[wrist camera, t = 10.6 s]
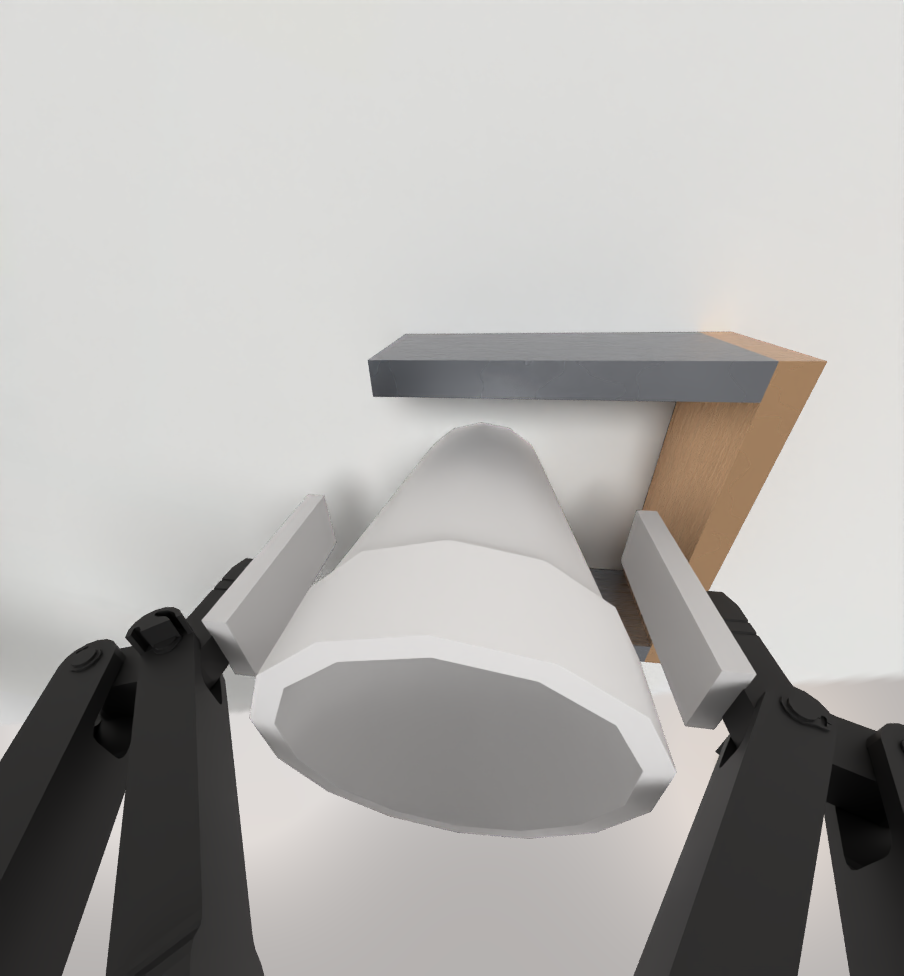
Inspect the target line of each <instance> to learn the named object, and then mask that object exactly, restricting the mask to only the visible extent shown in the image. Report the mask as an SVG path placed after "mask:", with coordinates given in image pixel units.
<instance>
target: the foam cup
mask: <svg viewBox="0 0 904 976" xmlns="http://www.w3.org/2000/svg"><path fill="white" fill-rule="evenodd" d="M249 718H250V720H251V721H252V723H253V724H254V725H255V727H256V728H257V730H258V731H259V732H260V734H261V735H262V737H263V738H264V739H265V741H266V742H267V744H268V745H269V746H270V748H271V749H272V750H273V752H274V753H275V755H276V756H277V757H278V758H279V759H280V760H282V761H283V762H285V763H286V764H288V765H289V766H291V767H292V768H294V769H295V770H297V771H298V772H300V773H301V774H303V775H304V776H306V777H307V778H309V779H310V780H312V781H313V782H315V783H316V784H318V785H319V786H321V787H322V788H324V789H325V790H327V791H328V792H331V793H333V794H336V795H338V796H341V797H343V798H345V799H348V800H350V801H353V802H355V803H358V804H360V805H363V806H365V807H368V808H370V809H373V810H375V811H378V812H380V813H382V814H385V815H387V816H390V817H394V818H399V819H402V820H407V821H411V822H415V823H419V824H424V825H428V826H432V827H436V828H441V829H445V830H449V831H453V832H457V833H468V834H480V835H490V836H502V837H514V838H526V839H532V838H543V837H554V836H566V835H576V834H589V833H597V832H599V831H602V830H605V829H607V828H610V827H612V826H615V825H617V824H620V823H623V822H625V821H628V820H631V819H633V818H636V817H638V816H641V815H644V814H646V813H649V812H651V811H652V810H653V808H654V806H655V805H656V803H657V802H658V800H659V799H660V797H661V796H662V794H663V793H664V791H665V790H666V788H667V786H668V785H669V783H670V782H671V780H672V779H673V777H674V776H675V774H676V773H677V772H676V769H675V766H674V763H673V759H672V757H671V753H670V750H669V747H668V744H667V741H666V738H665V735H664V733H663V729H662V726H661V723H660V720H659V717H658V714H657V711H656V708H655V705H654V702H653V699H652V696H651V693H650V690H649V687H648V684H647V681H646V678H645V675H644V672H643V668H642V665H641V662H640V660H639V658H638V655H637V653H636V651H635V649H634V647H633V644H632V642H631V640H630V638H629V636H628V634H627V631H626V629H625V627H624V625H623V623H622V621H621V618H620V616H619V614H618V612H617V610H616V608H615V607H614V606H613V605H611V604H610V603H608V602H607V601H605V600H604V599H603V598H602V596H601V593H600V591H599V589H598V587H597V585H596V583H595V580H594V578H593V576H592V574H591V572H590V569H589V567H588V565H587V563H586V561H585V558H584V556H583V554H582V552H581V550H580V548H579V545H578V543H577V541H576V539H575V537H574V534H573V532H572V530H571V528H570V526H569V524H568V521H567V519H566V517H565V515H564V513H563V510H562V508H561V506H560V504H559V502H558V500H557V497H556V495H555V493H554V491H553V489H552V486H551V484H550V482H549V480H548V478H547V476H546V473H545V471H544V469H543V467H542V465H541V463H540V461H539V459H538V456H537V454H536V452H535V450H534V449H533V446H532V445H531V444H530V443H529V442H527V441H526V440H525V439H523V438H522V437H521V436H519V435H518V434H517V433H515V432H514V431H513V430H511V429H510V428H506V427H501V426H496V425H492V424H487V423H482V422H481V423H477V424H472V425H467V426H463V427H458V428H454V429H453V430H452V431H450V432H449V433H448V434H446V435H445V436H444V437H443V438H441V439H440V440H439V441H438V442H436V443H435V444H434V445H433V447H432V448H430V450H429V451H428V452H427V453H426V455H425V456H424V457H423V458H422V460H421V461H420V462H419V463H418V465H417V466H416V467H415V468H414V470H413V471H412V472H411V473H410V475H409V476H408V477H407V478H406V480H405V481H404V482H403V484H402V485H401V486H400V487H399V489H398V490H397V491H396V492H395V494H394V495H393V496H392V497H391V499H390V500H389V501H388V502H387V504H386V505H385V506H384V507H383V509H382V510H381V511H380V512H379V514H378V515H377V516H376V517H375V519H374V520H373V521H372V523H371V524H370V525H369V526H368V528H367V529H366V530H365V531H364V533H363V534H362V535H361V536H360V538H359V539H358V540H357V541H356V543H355V544H354V545H353V546H352V548H351V549H350V550H349V551H348V553H347V554H346V555H345V557H344V558H343V559H342V560H341V562H340V563H339V564H338V565H337V567H336V568H335V569H334V570H333V572H331V573H330V574H329V575H327V576H326V577H324V578H323V579H321V580H320V581H318V582H317V583H316V584H314V585H313V586H311V587H310V589H309V590H308V592H307V594H306V595H305V597H304V598H303V600H302V602H301V603H300V605H299V607H298V608H297V610H296V612H295V613H294V615H293V616H292V618H291V620H290V621H289V623H288V625H287V626H286V628H285V630H284V631H283V633H282V634H281V636H280V638H279V639H278V641H277V643H276V644H275V646H274V647H273V649H272V651H271V652H270V654H269V656H268V657H267V659H266V661H265V662H264V664H263V665H262V667H261V669H260V670H259V672H258V674H257V675H256V680H255V686H254V692H253V698H252V704H251V710H250V716H249Z"/></svg>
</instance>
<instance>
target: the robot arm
mask: <svg viewBox="0 0 904 976" xmlns="http://www.w3.org/2000/svg"><path fill="white" fill-rule="evenodd" d="M336 543H337V541H336V537H335V534H334V530H333V526H332V522H331V518H330V515H329V511H328V507H327V503H326V500H325V496H324V495H313V494H308V495H307V496H306V497H305V498H304V500H303V501H302V502H301V503H300V504H299V506H298V507H297V508H296V509H295V510H294V511H293V513H292V514H291V515H290V516H289V517H288V519H287V520H286V521H285V522H284V523H283V524H282V526H281V527H280V528H279V529H278V530H277V532H276V533H275V534H274V535H273V536H272V538H271V539H270V540H269V541H268V542H267V543H266V545H265V546H264V547H263V548H262V549H261V551H260V552H259V553H258V554H257V555H256V556H255V558H254V559H248V558H245V559H244V560H243V561H241V562H240V563H238V564H237V565H235V566H234V567H232V568H231V570H230V571H229V572H228V573H227V574H226V575H225V576H224V577H223V578H222V581H220V582H219V583H218V584H217V585H216V586H215V587H214V590H212V591H211V592H210V593H209V594H208V595H207V596H206V598H205V599H204V600H203V601H202V602H201V603H200V604H199V605H198V607H197V608H196V609H195V610H194V611H193V612H192V613H191V614H190V616H189V617H188V618H187V619H185V618H184V616H183V615H182V613H181V612H180V610H179V609H176V608H174V607H165V608H161V609H158V610H155V611H153V612H151V613H148V614H146V615H145V616H143V617H142V618H141V619H139V620H138V621H136V622H135V623H134V624H133V626H132V627H131V628H130V629H129V630H128V632H127V635H126V637H125V638H126V639H127V640H128V641H129V642H130V644H131V645H132V646H131V647H126V648H121V649H120V648H119V647H118V646H117V645H116V644H115V642H114V641H112V640H108V639H104V640H97V641H94V642H92V643H89V644H86V645H85V646H83V647H81V648H79V649H78V650H76V651H74V652H73V653H72V654H71V655H69V656H68V657H67V658H66V659H65V660H64V661H63V662H62V663H61V665H60V666H59V667H58V669H57V670H56V672H55V674H54V675H53V677H52V678H51V680H50V682H49V683H48V685H47V686H46V688H45V690H44V691H43V693H42V695H41V696H40V698H39V699H38V701H37V703H36V704H35V706H34V707H33V709H32V711H31V712H30V714H29V716H28V717H27V719H26V720H25V722H24V724H23V725H22V727H21V729H20V730H19V732H18V734H17V735H16V737H15V738H14V740H13V741H12V743H11V745H10V746H9V748H8V750H7V751H6V753H5V754H4V756H3V758H2V759H1V761H0V976H62V973H63V970H64V967H65V965H66V962H67V959H68V956H69V953H70V950H71V947H72V944H73V941H74V938H75V935H76V932H77V930H78V927H79V924H80V921H81V918H82V915H83V912H84V909H85V906H86V903H87V901H88V898H89V895H90V892H91V889H92V886H93V883H94V880H95V877H96V874H97V872H98V868H99V866H100V863H101V860H102V857H103V854H104V851H105V848H106V845H107V842H108V840H109V837H110V834H111V831H112V828H113V825H114V822H115V819H116V816H117V813H118V810H119V807H120V805H121V802H122V799H123V796H124V793H125V801H124V810H123V819H122V829H121V838H120V848H119V856H118V866H117V875H116V884H115V894H114V903H113V913H112V923H111V931H110V941H109V950H108V959H107V968H106V976H264V973H263V969H262V965H261V962H260V960H259V957H258V955H257V953H256V950H255V946H254V942H253V935H252V927H251V917H250V908H249V899H248V889H247V880H246V871H245V861H244V852H243V843H242V833H241V824H240V815H239V806H238V796H237V787H236V778H235V768H234V759H233V750H232V740H231V731H230V722H229V712H228V703H227V694H226V684H225V679H224V677H223V675H222V673H223V672H224V670H225V669H226V667H227V666H228V664H229V665H230V667H231V668H232V670H233V671H234V673H235V674H238V675H247V676H255V677H256V675H257V674H258V672H259V670H260V669H261V667H262V665H263V664H264V662H265V661H266V659H267V657H268V656H269V654H270V652H271V651H272V649H273V647H274V646H275V644H276V643H277V641H278V639H279V638H280V636H281V634H282V633H283V631H284V630H285V628H286V626H287V625H288V623H289V621H290V620H291V618H292V616H293V615H294V613H295V612H296V610H297V608H298V607H299V605H300V603H301V602H302V600H303V598H304V597H305V595H306V593H307V592H308V590H309V588H310V587H311V585H312V583H313V582H314V580H315V578H316V577H317V575H318V573H319V572H320V570H321V568H322V567H323V565H324V563H325V562H326V560H327V558H328V556H329V555H330V553H331V551H332V550H333V548H334V546H335V545H336ZM621 562H622V565H623V568H624V570H625V573H626V575H627V578H628V580H629V583H630V586H631V588H632V591H633V593H634V596H635V599H636V601H637V604H638V606H639V609H640V611H641V614H642V617H643V619H644V622H645V624H646V627H647V629H648V632H649V635H650V637H651V640H652V642H653V645H654V647H655V650H656V653H657V655H658V658H659V660H660V663H661V665H662V668H663V671H664V673H665V676H666V678H667V681H668V684H669V686H670V689H671V691H672V694H673V696H674V699H675V702H676V704H677V706H678V709H679V712H680V714H681V717H682V720H683V722H684V725H685V726H688V727H697V728H706V729H715V728H716V727H717V725H718V724H719V723H720V721H721V720H722V719H723V721H724V723H725V725H726V727H727V729H728V731H729V733H730V735H729V736H728V737H727V738H726V739H725V741H724V742H723V743H722V744H721V745H720V747H719V748H718V749H717V750H716V753H718V754H719V758H718V760H717V763H716V765H715V768H714V771H713V773H712V776H711V778H710V781H709V784H708V786H707V788H706V791H705V794H704V796H703V799H702V801H701V804H700V806H699V809H698V812H697V814H696V817H695V819H694V822H693V824H692V827H691V830H690V832H689V835H688V837H687V840H686V842H685V845H684V848H683V850H682V853H681V855H680V858H679V860H678V863H677V865H676V868H675V871H674V873H673V876H672V878H671V881H670V884H669V886H668V889H667V891H666V894H665V896H664V899H663V902H662V904H661V907H660V909H659V912H658V914H657V917H656V919H655V922H654V925H653V927H652V930H651V932H650V935H649V937H648V940H647V942H646V945H645V948H644V950H643V953H642V955H641V958H640V960H639V963H638V966H637V968H636V971H635V973H634V976H797V975H798V969H799V963H800V957H801V951H802V945H803V939H804V933H805V927H806V921H807V915H808V908H809V902H810V896H811V890H812V884H813V878H814V871H815V866H816V860H817V853H818V847H819V842H820V835H821V829H822V823H823V817H824V815H825V822H826V828H827V835H828V841H829V847H830V854H831V860H832V866H833V872H834V879H835V884H836V891H837V897H838V904H839V909H840V916H841V922H842V929H843V935H844V941H845V947H846V953H847V960H848V966H849V972H850V976H904V725H902V724H898V723H894V724H892V723H891V724H886V725H885V726H883V727H882V728H881V729H879V730H878V731H875V730H872V729H869V728H866V727H864V726H861V725H858V724H855V723H853V722H850V721H847V720H845V719H842V718H839V717H836V716H834V715H832V714H830V713H829V711H828V710H827V709H826V708H825V707H824V706H823V705H822V704H821V703H820V702H819V701H818V700H816V699H814V698H813V697H812V696H810V695H809V694H808V693H806V692H805V691H802V690H800V689H798V688H796V687H793V685H792V684H791V683H790V682H789V680H788V679H787V677H786V676H785V674H784V673H783V671H782V670H781V668H780V667H779V665H778V664H777V663H776V661H775V660H774V658H773V657H772V655H771V654H770V652H769V651H768V649H767V648H766V646H765V645H764V643H763V642H762V640H761V639H760V637H759V636H757V635H756V632H755V630H754V629H753V627H752V626H751V624H750V623H748V620H747V618H746V617H745V615H744V614H743V612H742V611H741V609H740V608H739V606H738V605H737V604H736V603H734V602H733V601H732V600H731V599H730V598H729V597H727V596H726V595H725V594H724V593H723V592H714V591H705V589H704V587H703V586H702V584H701V582H700V581H699V579H698V577H697V576H696V574H695V573H694V571H693V569H692V568H691V566H690V564H689V563H688V561H687V559H686V558H685V556H684V555H683V553H682V551H681V550H680V548H679V546H678V545H677V543H676V541H675V540H674V538H673V536H672V535H671V533H670V532H669V530H668V528H667V527H666V525H665V523H664V522H663V520H662V518H661V517H660V515H659V514H658V512H657V511H644V510H637V511H636V514H635V517H634V520H633V523H632V527H631V530H630V533H629V536H628V540H627V543H626V546H625V549H624V552H623V556H622V559H621ZM125 790H126V791H125Z"/></svg>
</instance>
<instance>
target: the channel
mask: <svg viewBox="0 0 904 976" xmlns="http://www.w3.org/2000/svg"><path fill="white" fill-rule="evenodd" d="M826 363H827V361H825V360H821V359H818V358H815V357H812V356H809V355H805V354H802V353H799V352H796V351H792V350H789V349H786V348H783V347H779V346H776V345H773V344H770V343H766V342H763V341H760V340H757V339H753V338H750V337H747V336H744V335H740V334H737V333H734V332H638V333H495V334H405V335H403V336H402V337H401V338H399V339H398V340H396V341H395V342H393V343H392V344H390V345H389V346H388V347H386V348H385V349H383V350H382V351H380V352H379V353H377V354H376V355H374V356H373V357H372V358H370V359H369V360H368V365H369V372H370V378H371V385H372V392H373V397H430V398H492V399H553V400H614V401H675V402H677V403H676V406H675V409H674V412H673V415H672V418H671V421H670V425H669V428H668V431H667V434H666V437H665V440H664V443H663V447H662V450H661V453H660V456H659V459H658V462H657V465H656V468H655V472H654V475H653V478H652V481H651V484H650V487H649V490H648V494H647V497H646V500H645V503H644V506H643V509H642V510H644V511H657V512H658V514H659V515H660V517H661V518H662V520H663V522H664V523H665V525H666V527H667V528H668V530H669V532H670V533H671V535H672V536H673V538H674V540H675V541H676V543H677V545H678V546H679V548H680V550H681V551H682V553H683V555H684V556H685V558H686V559H687V561H688V563H689V564H690V566H691V568H692V569H693V571H694V573H695V574H696V576H697V577H698V579H699V581H700V582H701V584H702V586H703V587H704V589H705V591H709V589H710V587H711V585H712V583H713V581H714V579H715V577H716V575H717V573H718V571H719V569H720V567H721V565H722V564H723V562H724V560H725V558H726V556H727V554H728V552H729V550H730V548H731V546H732V544H733V542H734V540H735V538H736V537H737V535H738V533H739V531H740V529H741V527H742V525H743V523H744V521H745V519H746V517H747V515H748V513H749V511H750V510H751V508H752V506H753V504H754V502H755V500H756V498H757V496H758V494H759V492H760V490H761V488H762V486H763V484H764V483H765V481H766V479H767V477H768V475H769V473H770V471H771V469H772V467H773V465H774V463H775V461H776V459H777V457H778V456H779V454H780V452H781V450H782V448H783V446H784V444H785V442H786V440H787V438H788V436H789V434H790V432H791V430H792V428H793V427H794V425H795V423H796V421H797V419H798V417H799V415H800V413H801V411H802V409H803V407H804V405H805V403H806V401H807V400H808V398H809V396H810V394H811V392H812V390H813V388H814V386H815V384H816V382H817V380H818V378H819V376H820V374H821V373H822V371H823V369H824V367H825V365H826ZM590 572H591V574H592V576H593V578H594V580H595V583H596V585H597V587H598V589H599V591H600V593H601V596H602V598H603V599H604V600H605V601H607V602H608V603H610V604H611V605H613V606H614V607H615V608H616V610H617V612H618V614H619V616H620V618H621V621H622V623H623V625H624V627H625V629H626V631H627V634H628V636H629V638H630V640H631V642H632V644H633V647H634V649H635V651H636V653H637V655H638V658H639V660H640V661H642V662H652V663H660V660H659V658H658V655H657V653H656V650H655V647H654V645H653V642H652V640H651V637H650V635H649V632H648V629H647V627H646V624H645V622H644V619H643V617H642V614H641V611H640V609H639V606H638V604H637V601H636V599H635V596H634V593H633V591H632V588H631V586H630V583H629V580H628V578H627V575H626V573H625V570H624V569H623V571H615V570H602V569H590Z"/></svg>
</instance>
